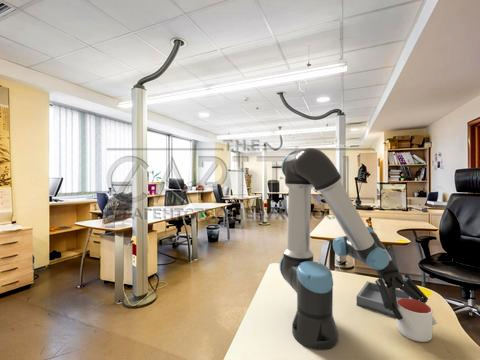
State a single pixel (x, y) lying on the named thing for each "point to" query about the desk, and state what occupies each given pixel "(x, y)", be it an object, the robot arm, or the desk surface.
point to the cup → (416, 319)
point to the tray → (376, 298)
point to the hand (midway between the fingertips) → (421, 327)
